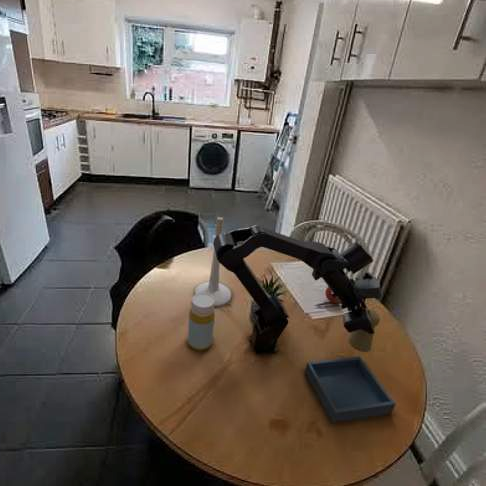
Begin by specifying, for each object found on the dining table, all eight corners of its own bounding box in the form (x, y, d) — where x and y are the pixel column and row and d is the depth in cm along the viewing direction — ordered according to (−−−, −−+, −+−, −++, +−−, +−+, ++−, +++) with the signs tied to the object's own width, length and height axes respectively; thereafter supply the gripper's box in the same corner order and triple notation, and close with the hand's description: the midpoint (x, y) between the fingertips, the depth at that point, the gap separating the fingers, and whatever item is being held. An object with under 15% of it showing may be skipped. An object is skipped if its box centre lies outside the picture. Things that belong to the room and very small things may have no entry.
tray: (332, 423, 70) (335, 412, 69) (304, 371, 82) (307, 362, 81) (391, 414, 73) (395, 403, 72) (356, 365, 85) (359, 356, 84)
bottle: (215, 338, 91) (220, 296, 85) (205, 355, 85) (209, 311, 79) (194, 329, 93) (197, 288, 87) (183, 345, 87) (185, 302, 81)
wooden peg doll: (344, 335, 89) (354, 304, 85) (363, 335, 90) (374, 305, 86) (354, 352, 84) (366, 320, 80) (375, 352, 85) (387, 320, 80)
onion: (341, 308, 108) (347, 289, 105) (324, 305, 108) (329, 286, 105) (338, 298, 113) (344, 280, 110) (322, 295, 114) (327, 277, 111)
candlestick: (187, 294, 108) (191, 215, 97) (210, 279, 118) (217, 206, 106) (215, 311, 101) (223, 229, 90) (238, 294, 110) (248, 218, 99)
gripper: (372, 290, 71) (410, 341, 72) (363, 253, 87) (394, 295, 89) (329, 307, 76) (364, 355, 77) (327, 269, 92) (357, 309, 94)
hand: (371, 326), depth 84 cm, fingers closed on wooden peg doll, 5 cm apart
